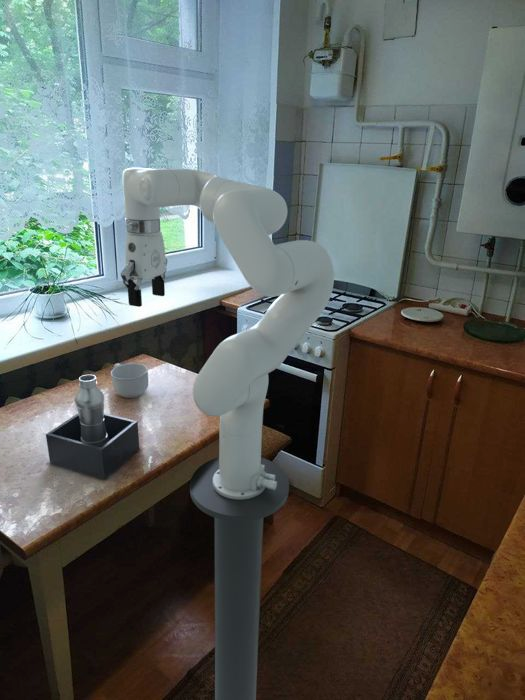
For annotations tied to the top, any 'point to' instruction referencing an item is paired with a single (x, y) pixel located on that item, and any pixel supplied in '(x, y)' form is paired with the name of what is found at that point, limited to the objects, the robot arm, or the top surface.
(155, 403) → the top surface
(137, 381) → the teacup
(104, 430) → the plastic bottle
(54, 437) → the open box
